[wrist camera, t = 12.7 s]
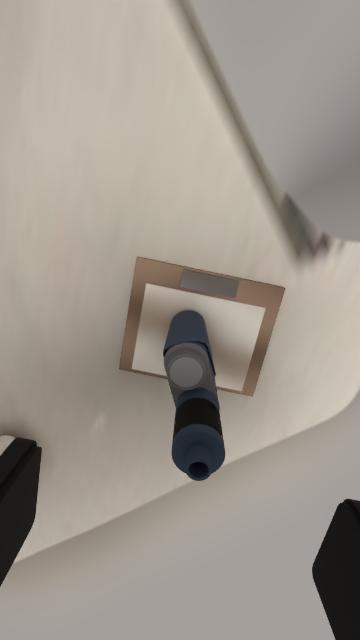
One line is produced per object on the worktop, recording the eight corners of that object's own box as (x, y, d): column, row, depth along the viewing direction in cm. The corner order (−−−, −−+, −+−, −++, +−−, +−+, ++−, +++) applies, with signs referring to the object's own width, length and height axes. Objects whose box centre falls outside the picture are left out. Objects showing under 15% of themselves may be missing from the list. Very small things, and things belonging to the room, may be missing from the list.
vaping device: (184, 374, 25) (175, 499, 13) (167, 311, 23) (141, 390, 12) (215, 367, 24) (235, 489, 13) (201, 304, 23) (208, 376, 11)
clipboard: (251, 392, 26) (254, 401, 24) (120, 366, 25) (116, 373, 24) (282, 287, 23) (288, 290, 22) (138, 256, 23) (134, 258, 22)
